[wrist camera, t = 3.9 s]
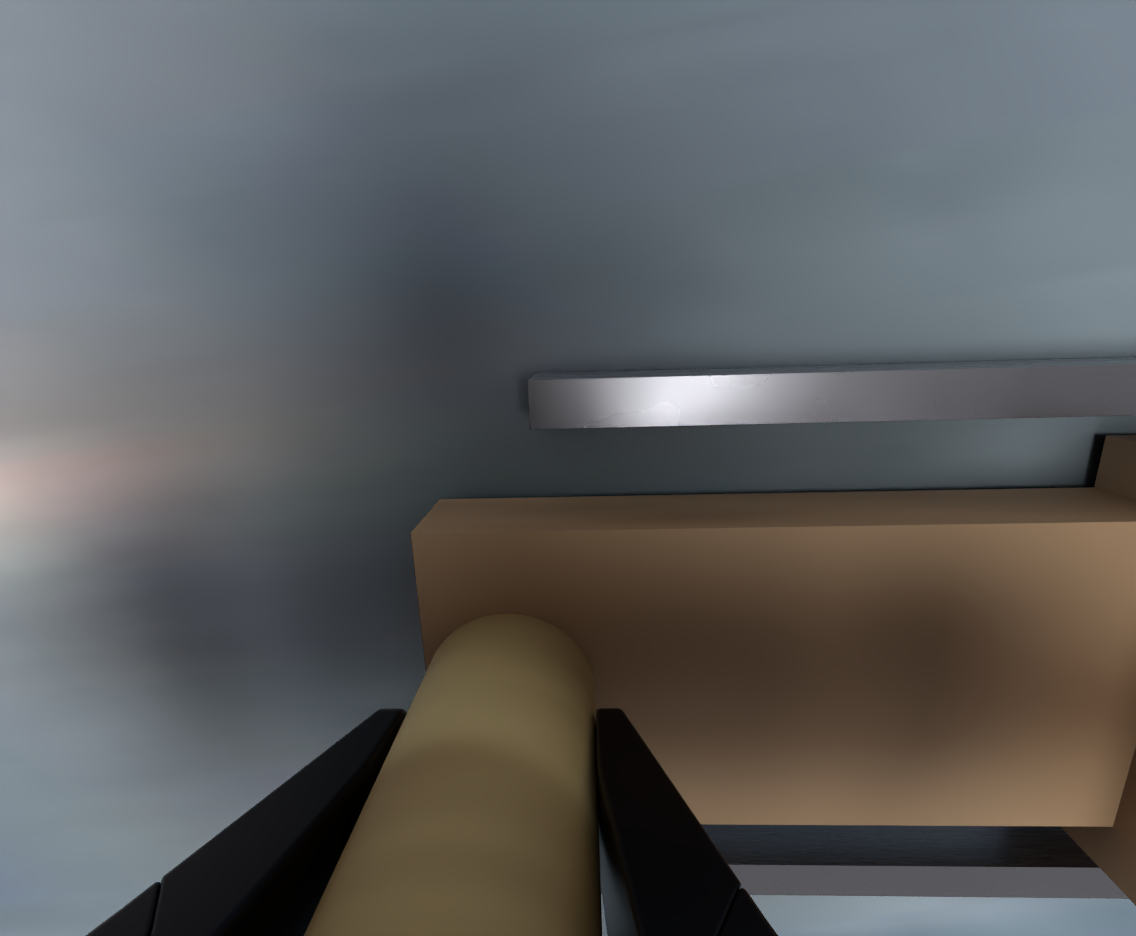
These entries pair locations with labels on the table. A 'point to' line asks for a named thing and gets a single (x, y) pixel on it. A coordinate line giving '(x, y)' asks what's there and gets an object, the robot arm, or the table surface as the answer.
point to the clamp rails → (857, 395)
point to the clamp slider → (749, 683)
